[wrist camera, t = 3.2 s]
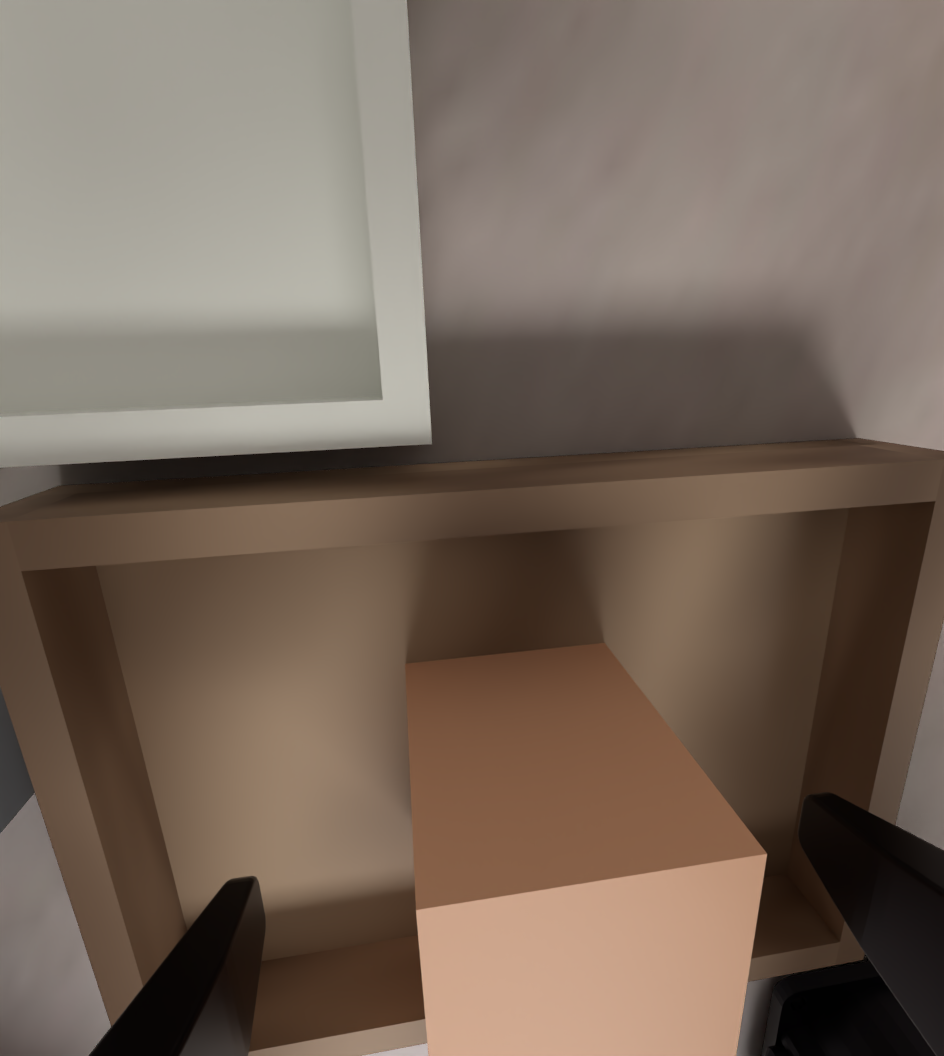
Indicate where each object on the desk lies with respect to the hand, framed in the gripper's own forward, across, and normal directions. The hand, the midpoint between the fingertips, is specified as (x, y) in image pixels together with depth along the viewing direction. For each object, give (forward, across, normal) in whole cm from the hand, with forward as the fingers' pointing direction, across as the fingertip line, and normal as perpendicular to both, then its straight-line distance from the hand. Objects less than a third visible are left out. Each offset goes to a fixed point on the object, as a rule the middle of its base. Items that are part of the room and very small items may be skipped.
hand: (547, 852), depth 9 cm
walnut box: (+4, 0, 0) cm, 4 cm away
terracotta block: (+3, 0, 0) cm, 3 cm away
